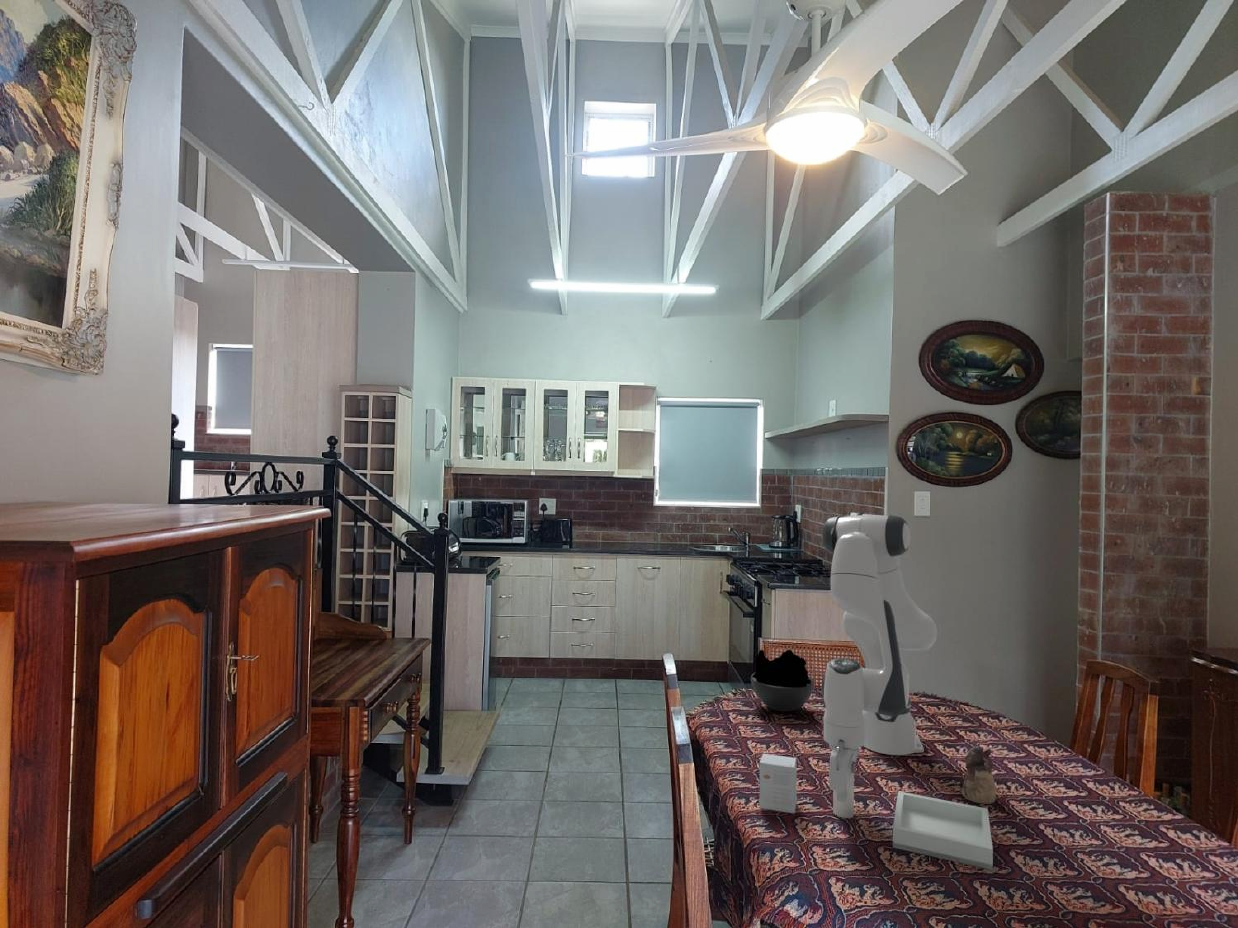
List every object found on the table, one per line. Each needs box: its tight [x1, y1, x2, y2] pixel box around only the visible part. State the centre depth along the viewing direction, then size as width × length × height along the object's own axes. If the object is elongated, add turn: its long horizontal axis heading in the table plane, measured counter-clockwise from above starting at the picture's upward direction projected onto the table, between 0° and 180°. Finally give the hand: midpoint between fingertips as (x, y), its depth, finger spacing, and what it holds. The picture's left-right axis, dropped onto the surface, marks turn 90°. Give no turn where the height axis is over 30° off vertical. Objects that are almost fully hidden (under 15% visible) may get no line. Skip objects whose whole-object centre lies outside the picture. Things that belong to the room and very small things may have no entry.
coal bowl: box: [750, 649, 815, 712], centre depth 221 cm, size 20×20×19 cm
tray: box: [892, 790, 994, 871], centre depth 144 cm, size 18×18×4 cm
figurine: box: [961, 745, 997, 805], centre depth 162 cm, size 7×7×12 cm
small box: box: [759, 753, 798, 814], centre depth 157 cm, size 8×6×10 cm
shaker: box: [832, 761, 856, 819], centre depth 154 cm, size 5×5×12 cm
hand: (843, 794), depth 154 cm, fingers closed on shaker, 4 cm apart
